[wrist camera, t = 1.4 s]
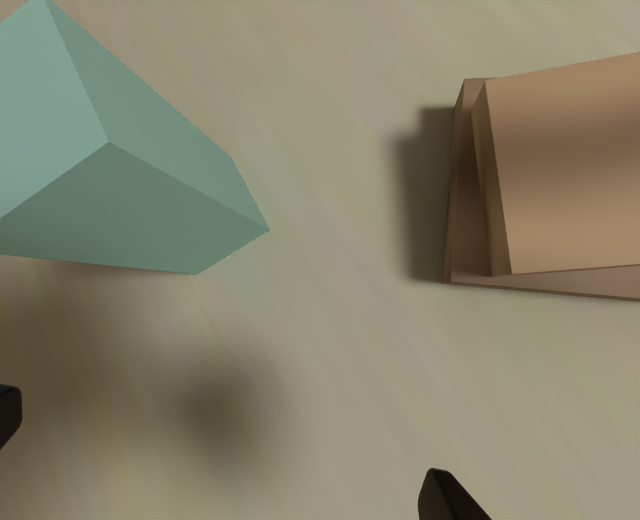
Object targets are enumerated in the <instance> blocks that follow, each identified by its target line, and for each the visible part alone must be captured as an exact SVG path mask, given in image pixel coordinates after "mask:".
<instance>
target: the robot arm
mask: <svg viewBox="0 0 640 520" xmlns="http://www.w3.org/2000/svg"><path fill="white" fill-rule="evenodd" d="M21 421H22V394H21V390H20V389H19V388H18V387H15V386H10V385H5V384H0V449H1V448H2V447H3V446H4V445H5V444H6V443H7V441H8V440H9V439H10V438H11V437H12V436H13V435H14V433H15V432H16V431H17V429H18V428H19V426H20V424H21ZM418 512H419V520H492V519H491V518H490V517H489V516H488V515H487V514H486V512H485V511H484V510H483V509H482V508H481V507H480V506H479V505H478V503H477V502H476V501H475V500H474V499H473V498H472V497H471V495H470V494H469V493H468V492H467V491H466V490H465V489H464V488H463V486H462V485H461V484H460V483H459V482H458V481H457V480H456V478H455V477H454V476H453V475H452V474H451V473H450V472H448V471H446V470H441V469H436V468H430V469H429V470H428V472H427V474H426V477H425V480H424V482H423V485H422V488H421V491H420V494H419V498H418Z"/></svg>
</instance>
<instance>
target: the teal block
mask: <svg viewBox="0 0 640 520" xmlns="http://www.w3.org/2000/svg"><path fill="white" fill-rule="evenodd" d="M269 230H270V229H269V227H268V225H267V223H266V221H265V220H264V218H263V216H262V214H261V212H260V210H259V208H258V206H257V205H256V203H255V201H254V199H253V197H252V195H251V193H250V192H249V190H248V188H247V186H246V184H245V182H244V180H243V178H242V177H241V175H240V173H239V171H238V169H237V167H236V165H235V164H234V162H233V160H232V158H231V157H230V156H229V155H228V154H227V153H225V152H224V151H223V150H222V149H221V148H220V147H219V146H217V145H216V144H215V143H214V142H213V141H212V140H211V139H209V138H208V137H207V136H206V135H205V134H204V133H203V132H201V131H200V130H199V129H198V128H197V127H196V126H194V125H193V124H192V123H191V122H190V121H189V120H188V119H186V118H185V117H184V116H183V115H182V114H181V113H180V112H178V111H177V110H176V109H175V108H174V107H173V106H172V105H170V104H169V103H168V102H167V101H166V100H165V99H164V98H162V97H161V96H160V95H159V94H158V93H157V92H155V91H154V90H153V89H152V88H151V87H150V86H149V85H147V84H146V83H145V82H144V81H143V80H142V79H141V78H139V77H138V76H137V75H136V74H135V73H134V72H133V71H131V70H130V69H129V68H128V67H127V66H126V65H125V64H123V63H122V62H121V61H120V60H119V59H118V58H116V57H115V56H114V55H113V54H112V53H111V52H110V51H108V50H107V49H106V48H105V47H104V46H103V45H102V44H100V43H99V42H98V41H97V40H96V39H95V38H94V37H92V36H91V35H90V34H89V33H88V32H87V31H86V30H84V29H83V28H82V27H81V26H80V25H79V24H77V23H76V22H75V21H74V20H73V19H72V18H71V17H69V16H68V15H67V14H66V13H65V12H64V11H63V10H61V9H60V8H59V7H58V6H57V5H56V4H55V3H53V2H52V1H51V0H29V1H28V2H27V3H25V4H24V5H23V6H22V7H20V8H19V9H18V10H17V11H15V12H14V13H13V14H12V15H10V16H9V17H8V18H7V19H5V20H4V21H3V22H2V23H0V254H2V255H12V256H22V257H32V258H41V259H51V260H61V261H70V262H80V263H90V264H99V265H109V266H119V267H128V268H138V269H148V270H158V271H167V272H177V273H187V274H196V275H197V274H199V273H200V272H202V271H204V270H205V269H207V268H209V267H210V266H212V265H213V264H215V263H217V262H218V261H220V260H222V259H223V258H225V257H226V256H228V255H230V254H231V253H233V252H235V251H236V250H238V249H239V248H241V247H243V246H244V245H246V244H248V243H249V242H251V241H252V240H254V239H256V238H257V237H259V236H261V235H262V234H264V233H265V232H267V231H269Z"/></svg>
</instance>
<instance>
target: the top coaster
mask: <svg viewBox="0 0 640 520" xmlns="http://www.w3.org/2000/svg"><path fill="white" fill-rule="evenodd" d="M470 114H471V122H472V129H473V137H474V144H475V152H476V159H477V167H478V174H479V182H480V189H481V197H482V204H483V212H484V219H485V227H486V234H487V242H488V249H489V257H490V264H491V272H492V277H502V276H515V275H528V274H540V273H553V272H566V271H579V270H592V269H604V268H617V267H630V266H640V52H637V53H632V54H627V55H621V56H616V57H610V58H605V59H599V60H594V61H588V62H583V63H578V64H572V65H567V66H561V67H556V68H550V69H545V70H539V71H534V72H529V73H523V74H518V75H512V76H507V77H501V78H496V79H490V80H485V82H484V84H483V86H482V88H481V90H480V93H479V95H478V97H477V99H476V101H475V104H474V106H473V108H472V110H471V112H470Z"/></svg>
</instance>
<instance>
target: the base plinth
mask: <svg viewBox="0 0 640 520" xmlns="http://www.w3.org/2000/svg"><path fill="white" fill-rule="evenodd" d="M490 79H496V78H474V79H464V82H463V85H462V87H461V90H460V93H459V96H458V99H457V101H456V104H455V108H454V123H453V138H452V152H451V167H450V182H449V196H448V211H447V225H446V240H445V255H444V269H443V283H444V284H455V285H467V286H478V287H489V288H500V289H511V290H522V291H533V292H545V293H556V294H567V295H578V296H589V297H600V298H612V299H623V300H634V301H640V266H630V267H617V268H604V269H592V270H579V271H566V272H553V273H540V274H528V275H515V276H502V277H492V272H491V264H490V257H489V249H488V242H487V234H486V227H485V219H484V212H483V204H482V197H481V189H480V182H479V174H478V167H477V159H476V152H475V144H474V137H473V129H472V122H471V114H470V112H471V110H472V108H473V106H474V104H475V101H476V99H477V97H478V95H479V93H480V90H481V88H482V86H483V84H484V82H485V80H490Z"/></svg>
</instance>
